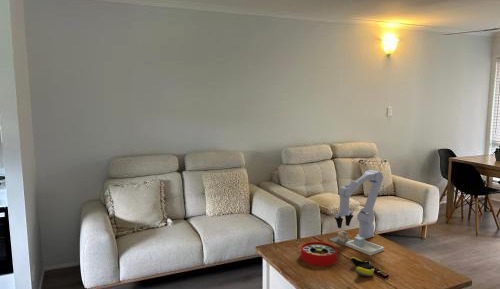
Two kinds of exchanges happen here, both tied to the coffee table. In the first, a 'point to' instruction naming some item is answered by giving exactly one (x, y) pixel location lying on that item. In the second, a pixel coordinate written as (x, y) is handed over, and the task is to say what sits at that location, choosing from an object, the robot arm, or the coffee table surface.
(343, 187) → the robot arm
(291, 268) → the coffee table surface
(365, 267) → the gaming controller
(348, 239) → the mat
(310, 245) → the toy clock
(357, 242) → the blue-grey block
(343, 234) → the birch block
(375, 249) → the tray
